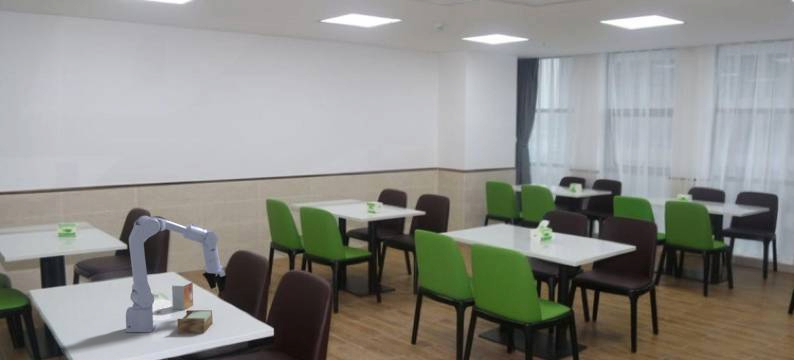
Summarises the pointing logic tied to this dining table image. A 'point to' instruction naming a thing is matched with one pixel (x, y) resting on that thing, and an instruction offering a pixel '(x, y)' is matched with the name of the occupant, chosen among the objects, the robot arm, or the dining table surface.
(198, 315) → the cover plate
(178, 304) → the small box
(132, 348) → the dining table surface
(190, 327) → the walnut box
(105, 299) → the dining table surface
